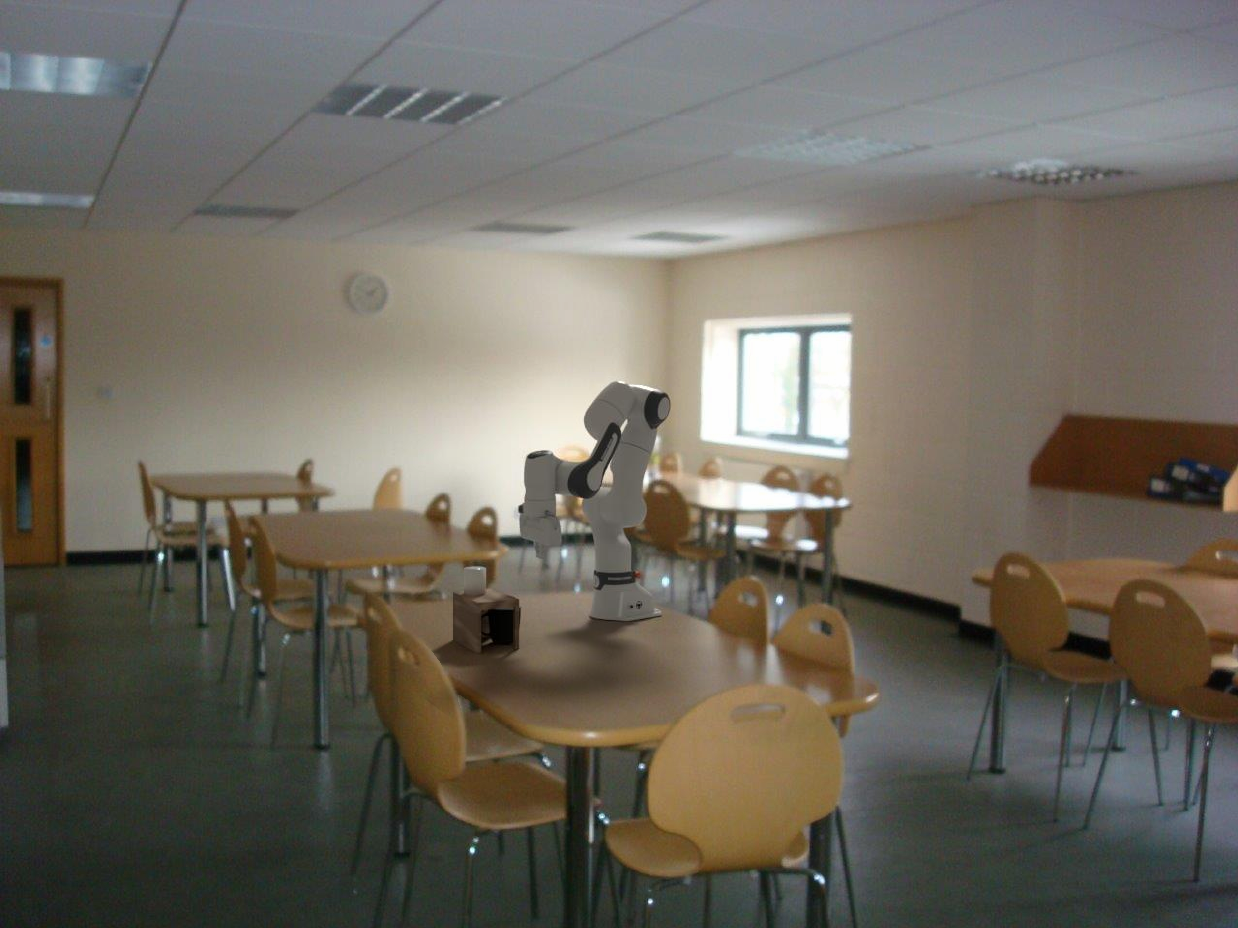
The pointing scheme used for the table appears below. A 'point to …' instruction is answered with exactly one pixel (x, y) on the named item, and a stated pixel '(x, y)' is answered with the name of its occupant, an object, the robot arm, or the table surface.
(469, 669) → the table surface
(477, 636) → the open wooden crate
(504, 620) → the mug
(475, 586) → the white cylinder
